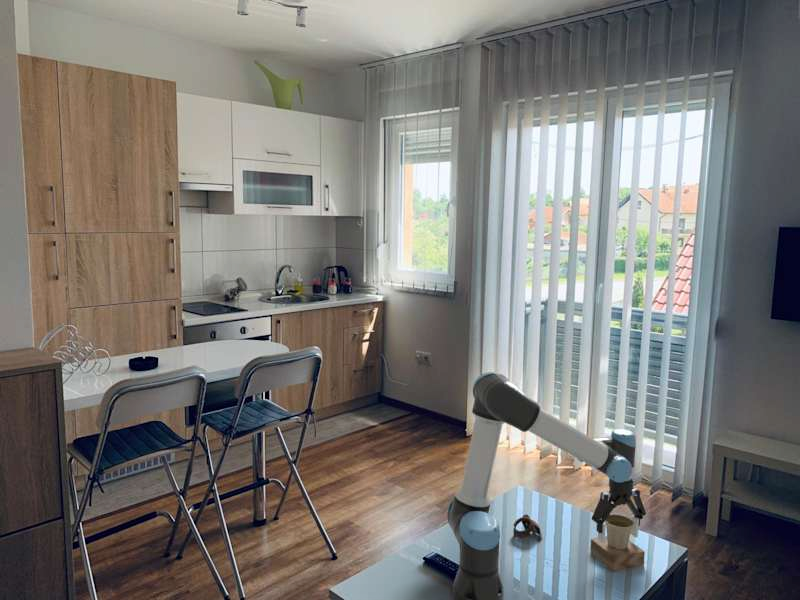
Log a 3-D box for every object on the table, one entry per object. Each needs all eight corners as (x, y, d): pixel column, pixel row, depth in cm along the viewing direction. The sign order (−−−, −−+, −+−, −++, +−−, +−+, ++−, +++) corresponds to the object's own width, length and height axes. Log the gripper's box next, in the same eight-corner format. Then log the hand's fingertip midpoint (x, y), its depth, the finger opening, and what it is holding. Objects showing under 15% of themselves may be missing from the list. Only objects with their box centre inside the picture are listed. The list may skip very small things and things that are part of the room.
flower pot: (596, 541, 201) (597, 516, 200) (617, 535, 205) (618, 511, 204) (617, 555, 192) (618, 529, 191) (638, 548, 196) (640, 524, 195)
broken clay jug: (546, 545, 208) (537, 528, 205) (521, 554, 210) (511, 537, 207) (539, 521, 219) (531, 505, 217) (516, 529, 221) (507, 513, 219)
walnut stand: (613, 571, 191) (613, 557, 191) (590, 552, 203) (591, 538, 202) (643, 565, 195) (644, 551, 195) (619, 547, 206) (620, 533, 206)
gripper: (596, 485, 188) (593, 549, 191) (659, 477, 196) (655, 538, 198) (582, 476, 195) (579, 538, 198) (644, 468, 203) (640, 527, 205)
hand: (617, 538), depth 198 cm, fingers open, 12 cm apart
